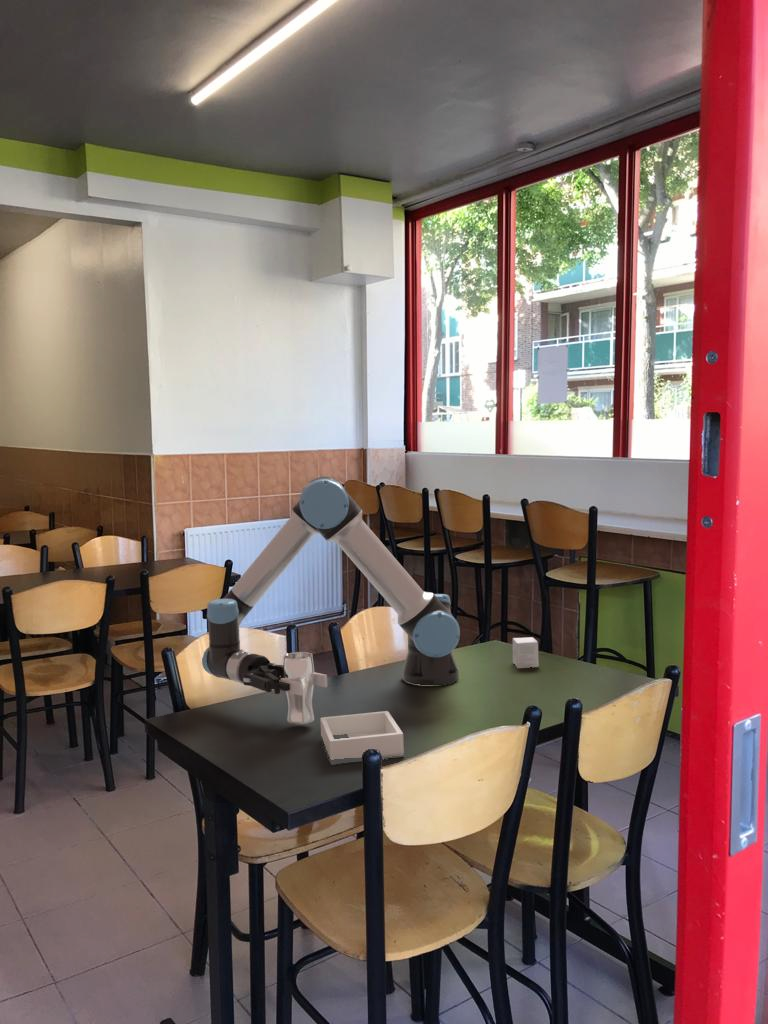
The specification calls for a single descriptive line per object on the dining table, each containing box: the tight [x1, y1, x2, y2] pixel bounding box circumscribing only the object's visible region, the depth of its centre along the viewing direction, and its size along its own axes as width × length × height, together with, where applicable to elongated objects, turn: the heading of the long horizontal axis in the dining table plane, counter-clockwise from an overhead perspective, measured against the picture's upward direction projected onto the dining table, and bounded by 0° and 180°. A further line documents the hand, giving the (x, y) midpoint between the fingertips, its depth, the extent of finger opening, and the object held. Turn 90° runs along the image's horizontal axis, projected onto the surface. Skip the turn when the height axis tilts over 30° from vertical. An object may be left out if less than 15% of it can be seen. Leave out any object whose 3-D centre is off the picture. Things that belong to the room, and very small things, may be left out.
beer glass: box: [282, 651, 315, 725], centre depth 192 cm, size 7×7×15 cm
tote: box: [319, 710, 405, 761], centre depth 178 cm, size 15×15×5 cm
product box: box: [512, 636, 540, 669], centre depth 238 cm, size 6×6×7 cm
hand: (313, 685), depth 188 cm, fingers closed on beer glass, 7 cm apart
